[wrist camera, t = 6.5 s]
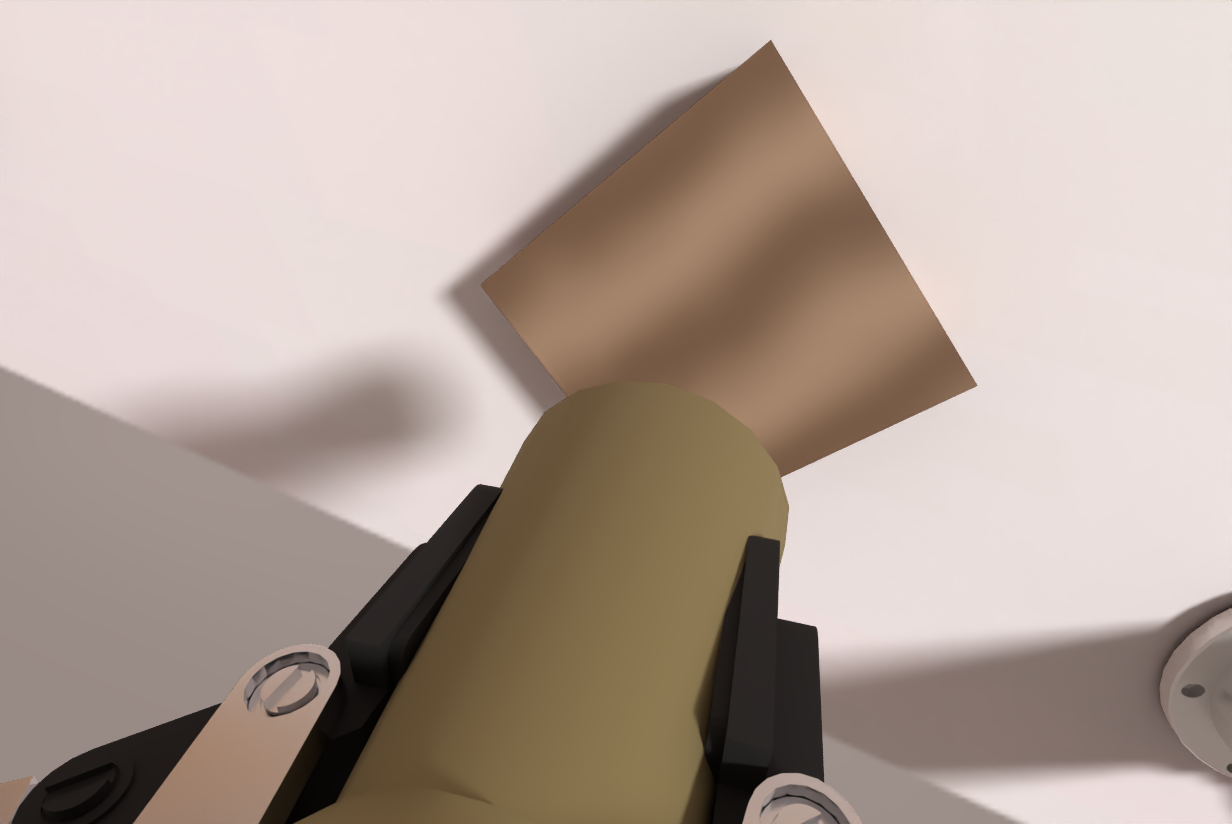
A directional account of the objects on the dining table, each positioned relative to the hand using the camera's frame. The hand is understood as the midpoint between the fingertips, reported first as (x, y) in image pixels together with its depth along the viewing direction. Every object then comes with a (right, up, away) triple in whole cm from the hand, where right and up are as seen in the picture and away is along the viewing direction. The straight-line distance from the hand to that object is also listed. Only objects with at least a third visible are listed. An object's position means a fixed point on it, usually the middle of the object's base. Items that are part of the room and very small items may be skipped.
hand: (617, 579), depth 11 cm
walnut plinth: (+5, +8, +16) cm, 19 cm away
